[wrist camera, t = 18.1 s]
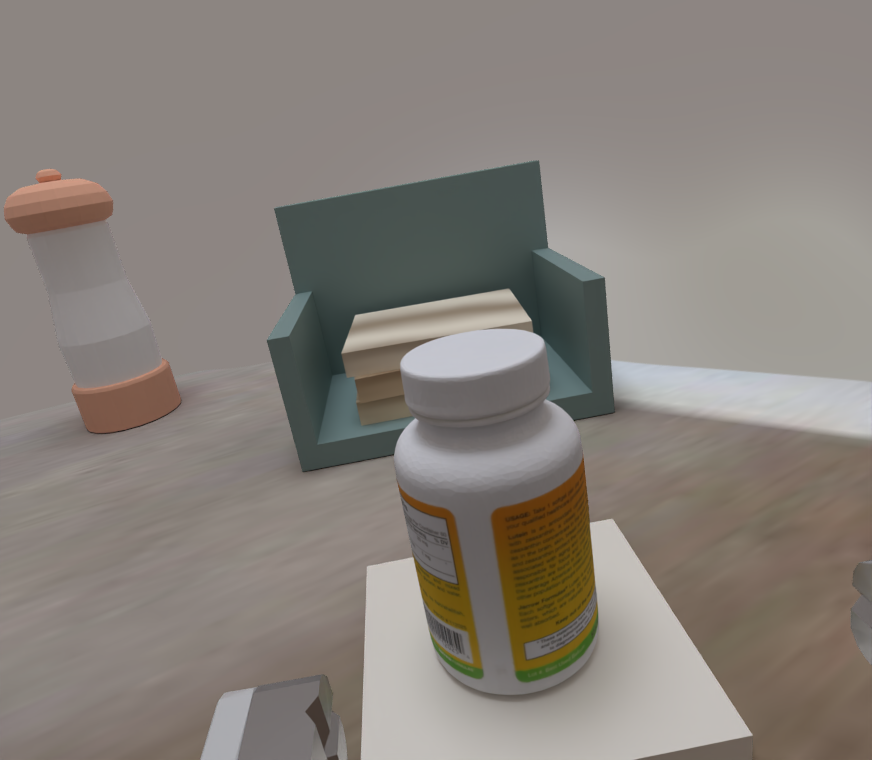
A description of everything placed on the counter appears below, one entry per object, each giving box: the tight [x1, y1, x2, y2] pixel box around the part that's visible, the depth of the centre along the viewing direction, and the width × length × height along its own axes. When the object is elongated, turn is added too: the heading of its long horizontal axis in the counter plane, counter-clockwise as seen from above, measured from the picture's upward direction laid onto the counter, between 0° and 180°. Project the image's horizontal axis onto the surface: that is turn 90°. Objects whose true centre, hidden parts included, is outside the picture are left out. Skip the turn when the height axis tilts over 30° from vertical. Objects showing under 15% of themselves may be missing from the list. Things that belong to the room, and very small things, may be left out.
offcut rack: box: [267, 161, 615, 472], centre depth 40 cm, size 13×18×14 cm
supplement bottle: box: [394, 329, 599, 695], centre depth 18 cm, size 5×5×10 cm
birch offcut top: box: [341, 289, 533, 378], centre depth 40 cm, size 9×11×2 cm
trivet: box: [361, 519, 753, 760], centre depth 20 cm, size 10×10×1 cm
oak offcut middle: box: [354, 369, 404, 404], centre depth 40 cm, size 9×11×2 cm
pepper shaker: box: [4, 169, 181, 433], centre depth 48 cm, size 7×7×19 cm
